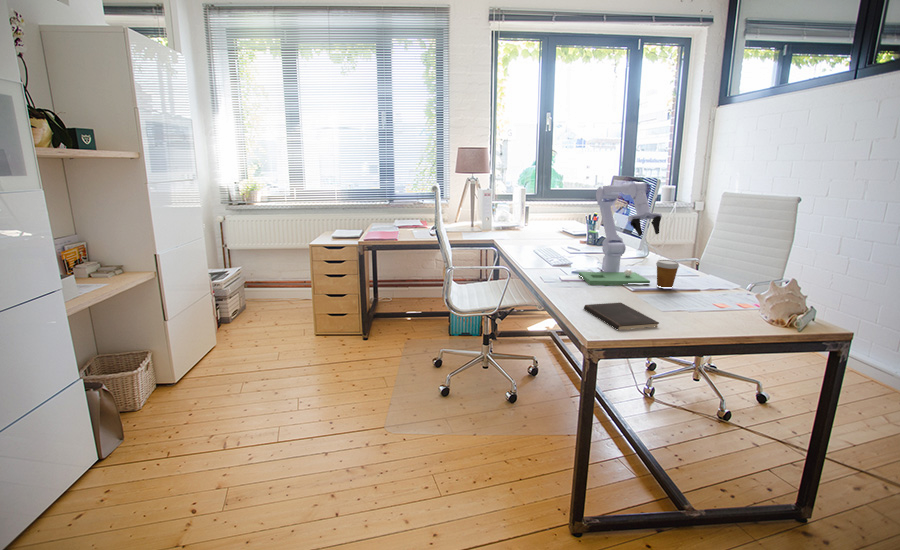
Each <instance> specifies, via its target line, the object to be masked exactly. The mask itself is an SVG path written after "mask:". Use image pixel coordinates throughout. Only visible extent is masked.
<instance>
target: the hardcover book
mask: <svg viewBox="0 0 900 550" xmlns="http://www.w3.org/2000/svg"><path fill="white" fill-rule="evenodd" d="M584 309H585V311H586V310H587V311H586V312H588V313H589V312H590V313H589V314H591V313H592V314H593V315H592V314H591V315H592V316H594V315H595V316H594V317H596V318H597V317H598V318H597V319H599V318H600V319H601V321H602V320H603V321H602V322H604V321H605V322H606V323H605V322H604V323H605V324H607V323H608V324H609V325H608V324H607V325H608V326H610V325H611V326H610V327H612V326H613V327H614V328H613V327H612V328H613V329H615V328H616V329H618V330H617V331H621V330H620V329H627V330H632V329H631V328H640V329H644V328H643V327H652V328H655V327H654V326H657V327H658V325H659V324H660V322H658V321H657V320H655V319H653V318H651V317H650V316H648V315H646V314H644V313H642V312H640V311H638V310H636V309H634V308H632V307H630V306H629V305H626V304H625V303H624V302H623V303H622V302H608V303H606V302H605V303H593V304H592V303H591V304H585V305H584V306H583V310H584ZM600 319H599V320H600ZM616 329H615V330H616Z"/></svg>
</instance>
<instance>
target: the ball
mask: <svg viewBox="0 0 900 550" xmlns="http://www.w3.org/2000/svg"><path fill="white" fill-rule="evenodd" d="M632 272H633V271H632V269H629V268H626V269H625V270H624V274H625V275H626V276H628V277H629V276H631V275H632Z"/></svg>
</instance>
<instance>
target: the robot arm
mask: <svg viewBox="0 0 900 550" xmlns="http://www.w3.org/2000/svg"><path fill="white" fill-rule="evenodd" d="M647 191H648V186H647V183H646V182H644V181H639V182H638V181H634V180H633V181H632V182H631V180H630V181H629V180H626V181H625V182H623V183H622V184H621V185H620V184H615V185H614V184H611V185H610V184H609V185H602V186H599V187H598V188H597V190H596V193H595V198H596V201H597V205H598V207H599V211H600V215H601V220H602V225H603V228H604V234H605V238H604V239H603V240H602V244H601V245H602V252H603V254H604V255H603V257H602V264H601V268H600V269H599V270H600V271H601V270H602V271H601V272H620V266H621V259H622V258H621V257H622V256H623V254H625V252H626V248H627V247H626V244H625V242H624V240H623V238H622V237H621V236H618V233H617V229H616V225H615V220H614V217H613V212H612V206H614V205H615V203H616V202H617V199H618V198H619V196H620V194H622V195H625V196H627V195H628V196H630V197H631V199H632V200H633V204H634V208H635V213H636V214H634V215H629V216H627V221H628V222H629V223H630V226H631V227H633V229H634V230H635V231H636V233H637V235H638V237H641V236H642V235H643V230H642V226H641V221H644V220H652V221H651V225H652V228H653V230H654V233H655V235H659V234H660V225H661V224H660V223H661V220H662V218H663V216H662V212H651V208H650V205H649V201H648V197H647V194H646V193H647ZM603 270H604V271H603Z"/></svg>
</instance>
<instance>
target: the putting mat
mask: <svg viewBox="0 0 900 550" xmlns="http://www.w3.org/2000/svg"><path fill="white" fill-rule="evenodd" d="M624 272H625V271H624ZM624 272H622V271H619V272H603V271H579V272H578V276H579V275H580V276H582V277H583V279H584V280H585V281H586V283H587V284H588V285H589V286H624V285H623V284H628V283H650V284H651V280H649V279H647V278H645V277H644V276H642V275H641V274H639V273H637V272H635V271H634V272H633V271H632V275H631V276H629V277H628V276H626V275H625V274H624ZM583 279H582V280H583ZM584 280H583V281H584ZM585 281H584V282H585Z"/></svg>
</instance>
